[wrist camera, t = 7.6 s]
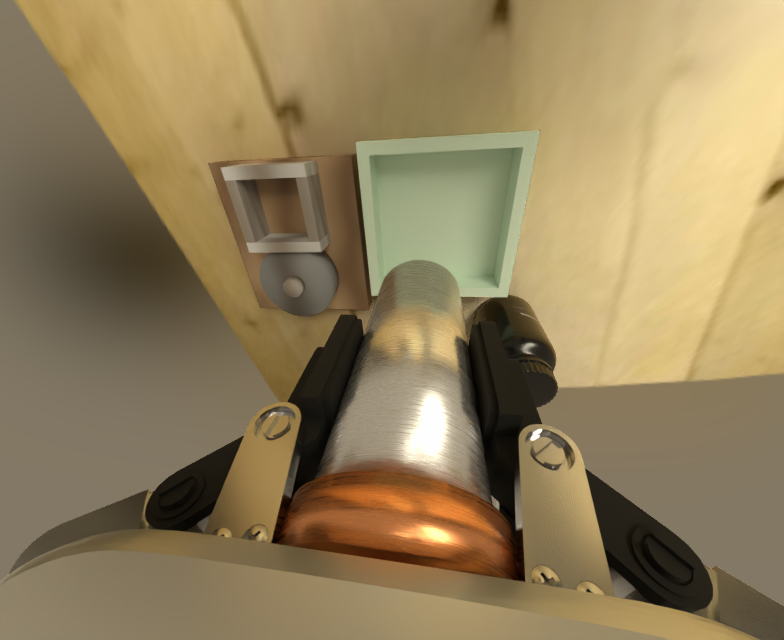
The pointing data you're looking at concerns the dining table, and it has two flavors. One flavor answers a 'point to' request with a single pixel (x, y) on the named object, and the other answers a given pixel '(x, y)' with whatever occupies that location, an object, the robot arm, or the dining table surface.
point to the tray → (447, 205)
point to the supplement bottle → (524, 343)
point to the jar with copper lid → (408, 443)
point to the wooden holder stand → (299, 230)
